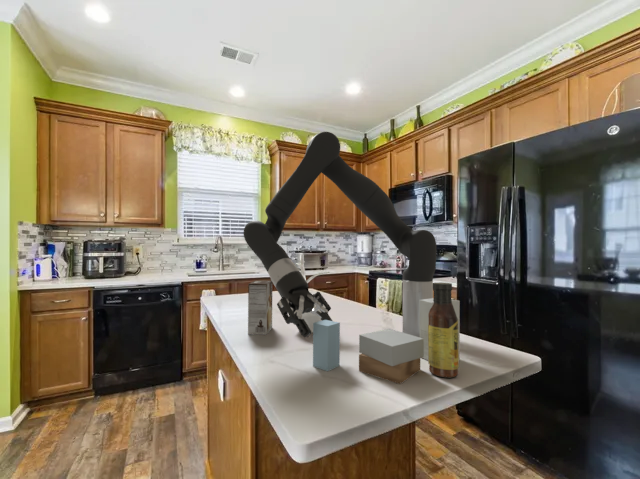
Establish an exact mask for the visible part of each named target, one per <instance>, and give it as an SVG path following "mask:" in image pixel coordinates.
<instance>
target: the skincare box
mask: <svg viewBox="0 0 640 479" xmlns="http://www.w3.org/2000/svg"><path fill="white" fill-rule="evenodd" d="M433 299H434V297H433V298H431V299H423V300H419V301H420V338H423V339H424V357H422V359H424V360H426V361H428V362H429V356H428V324H429V316H428V315H429V311H430V309H431V307H432V306H433V304H434V301H433ZM451 300H452V305H453V307H454V310H455V313H456V316H457V318H458V351H459V359H460V358H461V356H460V354H461V353H460V352H461V351H460V350H461V349H460V345H461V344H460V343H461V342H460V341H461V340H460V339H461V338H460V336H461V335H460V332H461V331H460V330H461V329H460V326H461V323H460V320H461V319H460V315H461V314H460V310H461V309H460V307H461V306H460V304H461V303H460V302H461V301H460V300H459V299H453V298H451Z"/></svg>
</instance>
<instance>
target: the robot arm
mask: <svg viewBox="0 0 640 479" xmlns="http://www.w3.org/2000/svg"><path fill="white" fill-rule="evenodd" d="M340 152H341V142H340V139H339V138H338V137H337V136H336V134H334V133H332V132H331V131H321V132H318V133H316V134H315V135H314V136H313V137H311V139H310V140H309V142H308V144H307V147H306V150H305V154H304V156H303V158H302V159H301V161H300V162H299V164H298V166H297V167H296V169H295V170H294V171H293V172H292V174H291V175H290V176H289V177H288V178H287V179H286V181H285V182H284V184H283V185H282V186H281V187H280V188H279V189H278V190H277V192H276V194H275V195H274V196H273V197H272V199H271V200H270V201H269V203H268V205H267V206H266V208H265V210H264V211H265V215H266V216H267V218H266V221H265V223H264V222H262V221H260V220H251V221H249V222H247V223H246V225H245V227H244V228H243V238H244V241H245V243H246V244H247V246H248V247H249V248H250V250H252V252H253V253H254V255H255V256H256V257H258V258H259V260H260V261H261V263H262V265H263V267H264V268H265V270H266V272H267V273H268V276H269V277H270V281H272V285H274V287H275V289H276V291H277V292H278V294H279V296H280V299H279V301H278V302H277V303H276V306H277V308H278V309H279V312H280V314H281V316H282V318H283V319H284V321H285V323H286V324H287V325H290V324H293V325H294V326H296V328H297V330H298V331H299V333H300V335H301V336H303V338H308V337H309V336H310V335H311V334H312V333H311V330H310V328H309V327H308V325H307V324H306V322H305V320H304V319H302V314H303V313H308V312H310V313H312V314H316V315H317V316H319V317H320V318H321V320H329V321H333V319H332V318H331V316H330V314H329V312H330V311H331V309H332V308H331V306H330V305H329V303H328V302H327V301H326V300H327V299H325V298H324V296H323V295H322V293H321V292H320V291H316V293H314V294H312V292H310V290H309V283H307V282H306V281H307V279H306V280H305V279H304V277H303V276H302V274H301V273H300V272H301V270H300V269H299V267H298V266H296V265H297V264H295V263H294V262H293V261H292V259H291V258H290V256H289V255H288V253H287V252H286V250H285V249H284V247H282V246H281V244H279V243H278V242H279V239H280V238H281V235H282V233H283V230H284V228H285V225H286V222H287V221H288V220H289V218H290V217H291V215H293V213H294V211H295V210H296V209H297V207H298V205H299V204H300V203H301V202H302V200H303V198H304V197H305V195H306V194H307V192H308V191H309V189H310V188H311V186H312V185H313V184H314V182H315V181H316V180H317V178H318V177H319V176H320V175H321V174H323V175H324V176H325V177H327V179H329V180H330V181H331V182H333V184H335V185H336V187H337V188H338V189H339V190H340V192H342V193H343V194H344V195H345V197H347V198H348V199H349V200H350V201H351V202H352V204H354V205H355V207H356V208H357V209H358V210H359V211H360V212H361V213H362V214H363V215H365V216H366V217H367V219H369V220H370V221H371V222H372V223H373V224H374V225H375V226H376V228H377V227H378V228H379V229H380V231H382V233H384V234H385V235H386V236H387V237H388V238H389V240H390V241H391V243H392V244H393V245H394V246H395V247H396V248H397V250H398V251H399V252H400V253H401V254H402V256H404V257H406V258H408V266H407V268H406V269H404V270H403V271H402V332H403V333H406V334H410V335H413V336H416V337H420V301H419V300H423V299H431V298H434V291H433V283H434V275H435V273H436V272H435V271H436V269H437V268H436V265H437V241H436V238H435V236H434V234H433V233H432V232H430V231H429V230H426V229H417V230H414V229H412V228H411V227H410V226H408V225H407V224H406V223H405V222H404V220H402V219H401V218H400V216H399V215H398V213H397V211H396V209H395V206H394V204H393V202H392V200H391V198H390V197H389V195H388V194H387V192H385V191H384V190H383V189H382V188H381V187H380V186H379V185H378V184H377V183H376V182H375V181H373V180H372V179H370V178H369V177H367V176H366V175H364V174H363V173H361V172H359V171H357V170H356V169H354V168H352V167H351V166H350V165H349V164H348V163H347V162H346V161H345V160H344V159H343V158H342V157H341V156H340ZM298 269H299V270H298ZM314 304H315V305H316V307H315V308H314ZM323 305H324V306H325V307H326V308H324V307H323ZM291 308H292V309H291ZM313 308H314V309H313ZM318 310H320V311H321V312H319V311H318Z"/></svg>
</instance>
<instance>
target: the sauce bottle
mask: <svg viewBox="0 0 640 479" xmlns="http://www.w3.org/2000/svg"><path fill="white" fill-rule="evenodd" d="M452 290H453V285H452V283H450V282H433V298H434V299H433V301H434V304H433V306H432V307H431V309H430V311H429V315H428V316H429V324H428V356H429V361H428V365H429V367H428V368H429V369H428V370H429V372H430V373H431V374H432V375H434V376H437V377H440V378H446V379H447V378H448V379H449V378H450V379H451V378H455V377H456V376H458V375H459V367H460V363H459V361H460V360H459V351H458V318H457V316H456V313H455V310H454V307H453V305H452V300H451V299H452Z"/></svg>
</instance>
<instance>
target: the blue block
mask: <svg viewBox="0 0 640 479" xmlns="http://www.w3.org/2000/svg"><path fill="white" fill-rule="evenodd" d="M340 323H341V322H338V321H333V320H332V321H329V320H322V321H319V322H315V323H313V333H312V334H313V335H312V344H313V345H312V348H313V349H312V367H313V368H317V369H320V370H323V371H325V372H329V371H331V370H334V369H335V368H338V367H339V366H340V358H341V357H340V356H341V355H340V354H341V350H340V349H341V348H340V347H341V344H340V343H341V342H340V341H341V340H340V339H341V336H340V335H341V333H340V330H341V324H340Z"/></svg>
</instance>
